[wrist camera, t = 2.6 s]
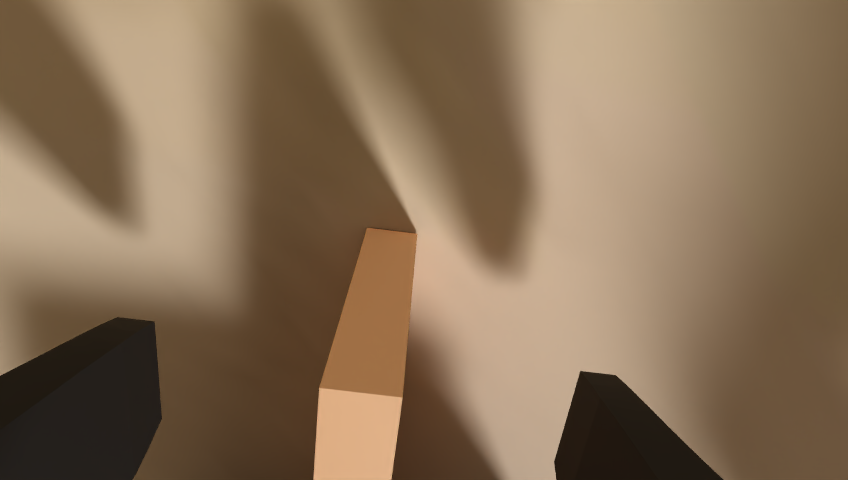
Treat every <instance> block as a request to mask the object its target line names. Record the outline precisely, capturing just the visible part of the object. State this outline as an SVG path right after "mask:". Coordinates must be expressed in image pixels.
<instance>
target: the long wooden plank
mask: <svg viewBox="0 0 848 480" xmlns="http://www.w3.org/2000/svg"><path fill="white" fill-rule="evenodd" d="M416 241H417V234H414V233H406V232H398V231H390V230H382V229H374V228H367V230H366V233H365V237H364V240H363V243H362V247H361V250H360V253H359V257H358V260H357V263H356V267H355V270H354V273H353V277H352V280H351V284H350V287H349V290H348V294H347V297H346V300H345V304H344V307H343V310H342V314H341V317H340V320H339V324H338V327H337V330H336V334H335V337H334V340H333V344H332V347H331V350H330V354H329V357H328V360H327V364H326V367H325V370H324V374H323V377H322V380H321V384H320V387H319V400H318V415H317V431H316V447H315V463H314V478H313V480H391V478H392V471H393V464H394V456H395V449H396V442H397V435H398V427H399V420H400V413H401V405H402V398H403V387H404V376H405V365H406V353H407V342H408V331H409V320H410V308H411V297H412V286H413V275H414V263H415V252H416Z"/></svg>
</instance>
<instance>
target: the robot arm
mask: <svg viewBox="0 0 848 480" xmlns="http://www.w3.org/2000/svg"><path fill="white" fill-rule="evenodd" d="M161 419H162V414H161V401H160V388H159V375H158V362H157V349H156V336H155V323H154V322H153V321H145V320H136V319H127V318H119V317H117V318H115V319H113V320H110V321H108V322H106V323H104V324H101V325H99V326H97V327H95V328H93V329H91V330H89V331H87V332H85V333H83V334H81V335H79V336H77V337H75V338H73V339H71V340H69V341H67V342H65V343H64V344H62V345H60V346H58V347H56V348H54V349H52V350H50V351H48V352H46V353H44V354H42V355H40V356H38V357H36V358H34V359H32V360H30V361H28V362H27V363H25V364H23V365H21V366H19V367H17V368H15V369H13V370H11V371H9V372H7V373H5V374H3V375H1V376H0V480H132V479H133V478H134V476H135V475H136V473H137V471H138V468H139V466H140V464H141V462H142V460H143V458H144V456H145V454H146V452H147V450H148V448H149V446H150V443H151V441H152V439H153V437H154V435H155V432H156V430H157V428H158V426H159V423H160V421H161ZM554 463H555V472H556V480H723V479H722V478H721V477H720V476H719V475H718V474H717V473H716V472H714V471H713V470H712V469H711V468H710V467H709V466H708V465H707V464H706V463H705V462H704V461H703V460H702V459H701V458H700V457H699V456H698V455H697V454H696V453H695V452H694V451H693V450H692V449H690V448H689V447H688V446H687V445H686V444H685V443H684V442H683V441H682V440H681V439H680V438H679V437H678V436H677V435H676V434H675V433H674V432H673V431H672V430H671V429H670V428H669V427H668V426H667V425H666V424H665V423H664V422H663V421H662V420H661V419H660V418H659V417H658V416H657V415H656V414H655V413H654V412H653V411H652V410H651V409H650V408H649V407H648V406H647V405H646V404H645V403H644V402H643V401H642V400H641V399H640V398H639V397H638V396H637V395H636V394H635V393H634V392H633V391H632V390H631V389H630V388H629V387H628V386H627V385H626V384H625V383H624V382H623V381H622V380H620V379H619V378H618V377H617V376H616V375H609V374H601V373H592V372H583V371H580V374H579V378H578V381H577V385H576V388H575V392H574V395H573V399H572V402H571V406H570V409H569V412H568V416H567V419H566V423H565V426H564V430H563V433H562V437H561V440H560V444H559V447H558V451H557V454H556V458H555V461H554Z"/></svg>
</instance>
